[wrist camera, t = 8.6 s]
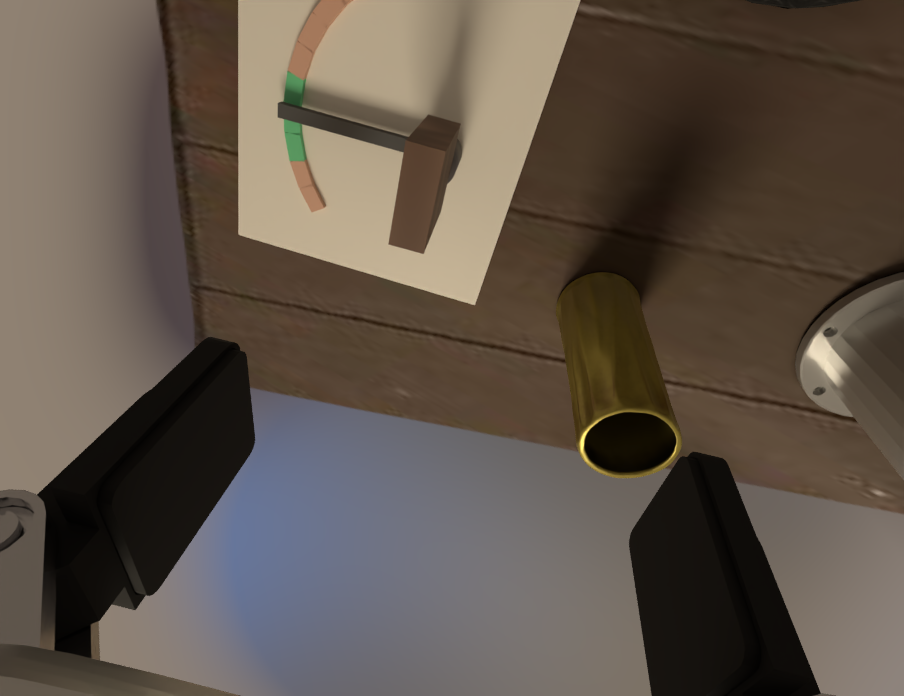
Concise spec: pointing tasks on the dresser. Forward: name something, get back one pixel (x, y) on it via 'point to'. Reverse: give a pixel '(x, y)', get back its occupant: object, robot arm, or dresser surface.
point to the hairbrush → (800, 3)
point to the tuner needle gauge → (403, 167)
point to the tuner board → (390, 124)
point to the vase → (615, 379)
